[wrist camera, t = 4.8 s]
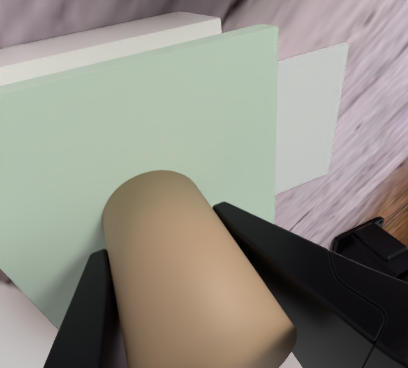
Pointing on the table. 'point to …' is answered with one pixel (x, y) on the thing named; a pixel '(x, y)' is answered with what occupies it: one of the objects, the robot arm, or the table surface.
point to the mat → (307, 114)
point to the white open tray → (102, 44)
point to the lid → (150, 195)
